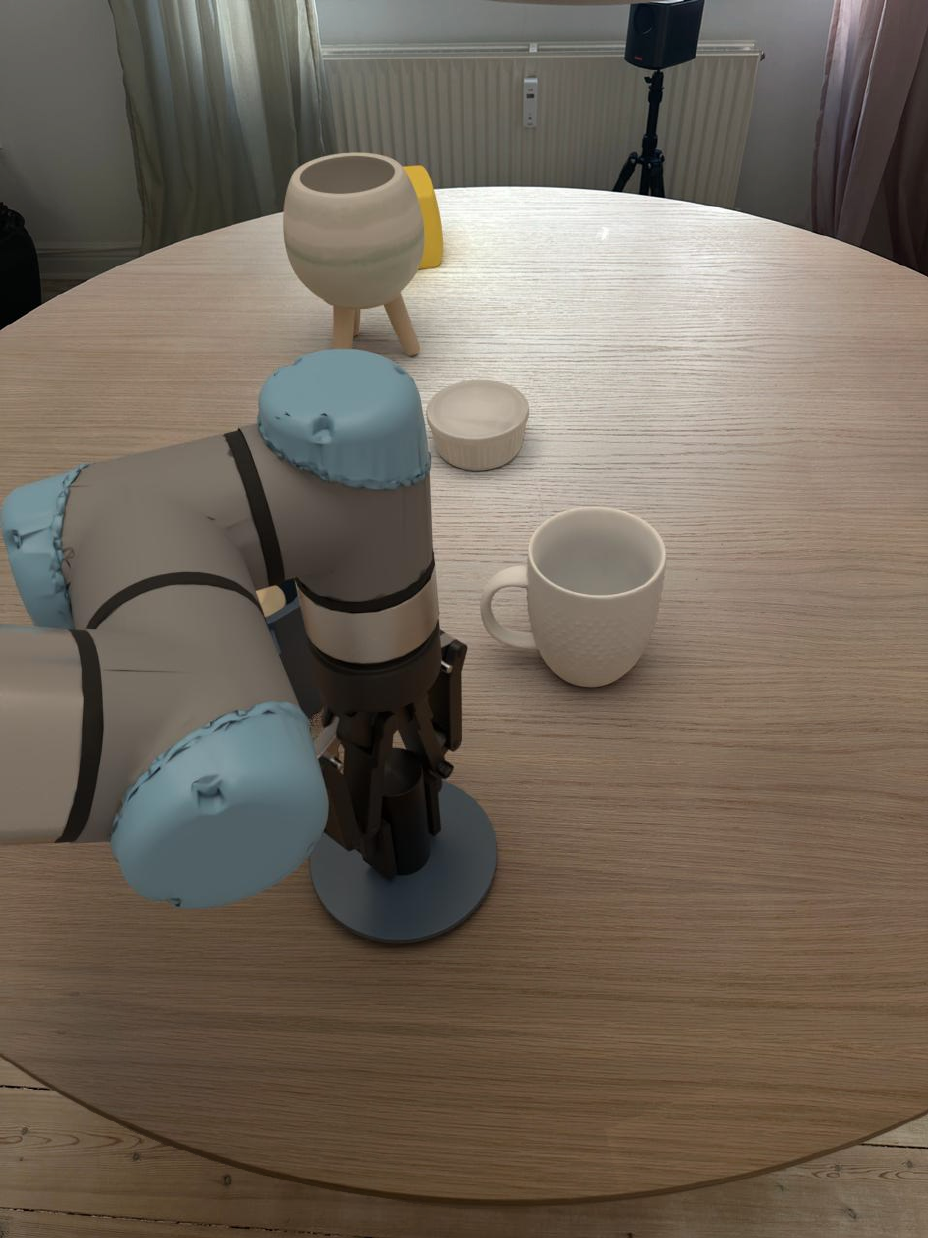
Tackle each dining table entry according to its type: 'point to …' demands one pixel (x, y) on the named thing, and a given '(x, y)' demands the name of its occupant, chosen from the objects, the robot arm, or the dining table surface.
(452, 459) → the ramekin
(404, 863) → the lid
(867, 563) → the dining table surface
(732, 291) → the dining table surface
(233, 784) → the robot arm
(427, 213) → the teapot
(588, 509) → the mug
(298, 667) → the pot
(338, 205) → the planter
